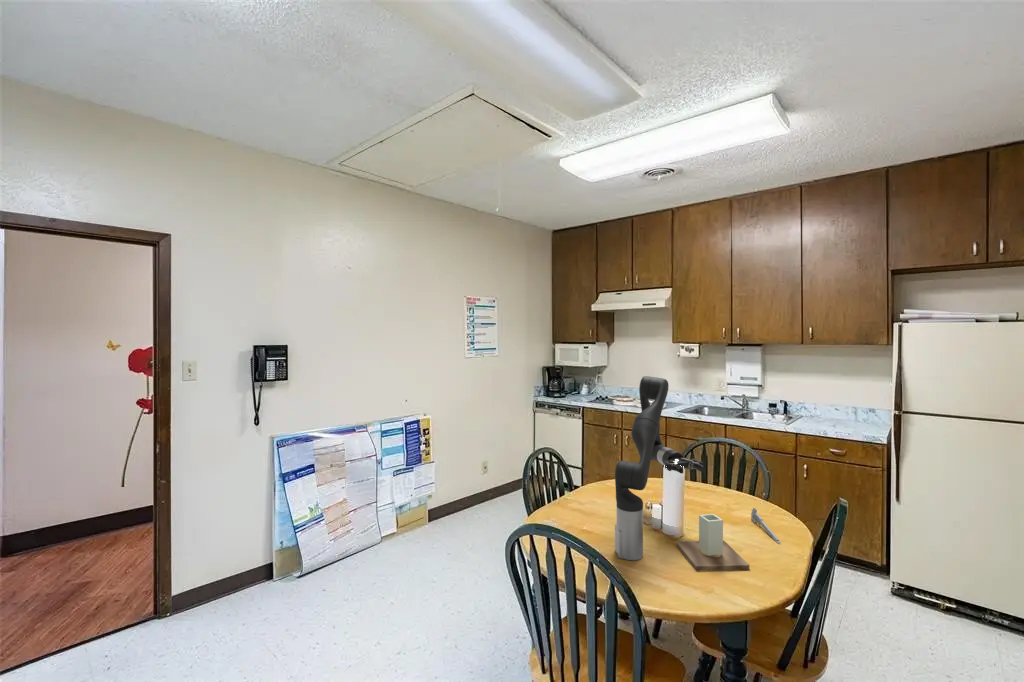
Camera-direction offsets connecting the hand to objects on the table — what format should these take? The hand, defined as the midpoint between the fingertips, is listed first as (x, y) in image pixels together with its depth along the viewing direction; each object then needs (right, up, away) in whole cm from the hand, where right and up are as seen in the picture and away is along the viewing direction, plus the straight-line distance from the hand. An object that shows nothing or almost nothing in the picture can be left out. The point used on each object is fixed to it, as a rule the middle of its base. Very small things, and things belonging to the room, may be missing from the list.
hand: (693, 470), depth 177 cm
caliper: (+32, -27, +10) cm, 43 cm away
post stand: (+3, -28, -10) cm, 30 cm away
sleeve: (+2, -26, -10) cm, 28 cm away
